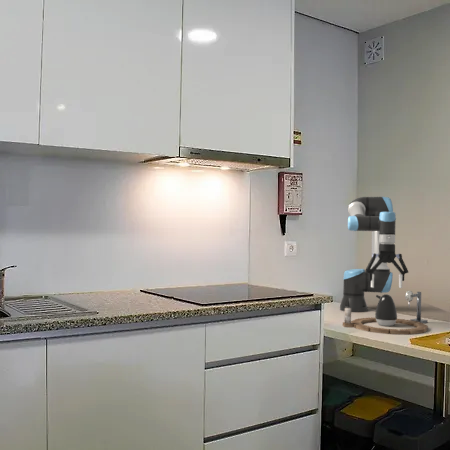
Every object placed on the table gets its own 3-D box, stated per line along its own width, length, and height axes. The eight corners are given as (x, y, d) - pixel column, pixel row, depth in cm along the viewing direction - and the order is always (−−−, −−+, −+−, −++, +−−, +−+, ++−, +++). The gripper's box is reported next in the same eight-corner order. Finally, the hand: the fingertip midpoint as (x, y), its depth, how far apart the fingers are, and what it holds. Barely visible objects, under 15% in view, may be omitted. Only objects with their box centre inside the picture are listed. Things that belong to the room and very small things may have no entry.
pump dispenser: (379, 322, 274) (380, 292, 274) (400, 325, 268) (400, 294, 268) (371, 325, 266) (371, 294, 266) (391, 328, 260) (392, 296, 260)
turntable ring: (336, 319, 279) (336, 303, 279) (412, 321, 279) (412, 304, 279) (351, 333, 245) (351, 314, 245) (438, 334, 245) (438, 315, 245)
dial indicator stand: (417, 321, 280) (417, 288, 280) (427, 323, 275) (428, 290, 275) (400, 323, 272) (401, 290, 272) (411, 325, 267) (411, 291, 267)
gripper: (363, 243, 263) (362, 287, 263) (415, 244, 263) (414, 288, 263) (359, 242, 271) (358, 286, 270) (410, 243, 270) (409, 287, 270)
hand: (386, 287), depth 267 cm, fingers open, 13 cm apart
